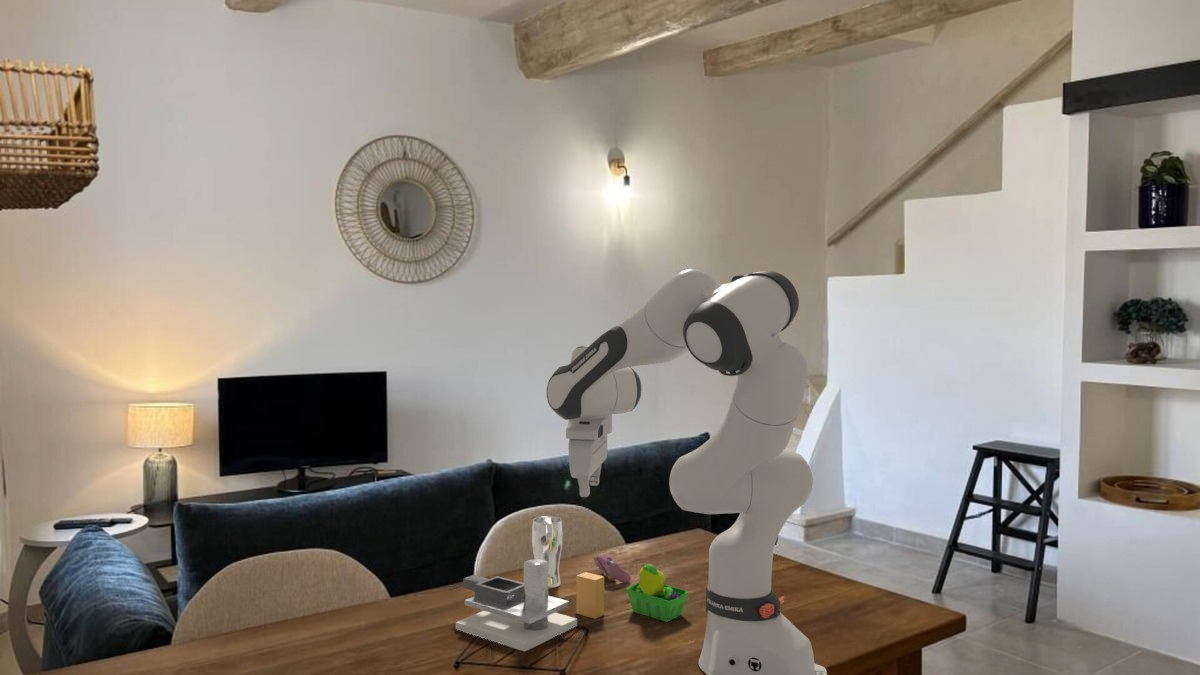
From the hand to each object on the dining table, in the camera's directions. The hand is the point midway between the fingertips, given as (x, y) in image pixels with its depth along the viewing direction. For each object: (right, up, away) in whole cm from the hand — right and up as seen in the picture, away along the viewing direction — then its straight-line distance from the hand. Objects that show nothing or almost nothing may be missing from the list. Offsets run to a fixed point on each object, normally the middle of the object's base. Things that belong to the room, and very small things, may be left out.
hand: (589, 490), depth 184 cm
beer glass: (-10, -25, +21) cm, 35 cm away
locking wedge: (0, -26, +3) cm, 26 cm away
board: (-14, -27, -5) cm, 31 cm away
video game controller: (+5, -25, +26) cm, 37 cm away
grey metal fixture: (-16, -25, -4) cm, 30 cm away
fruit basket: (+14, -27, +3) cm, 30 cm away
